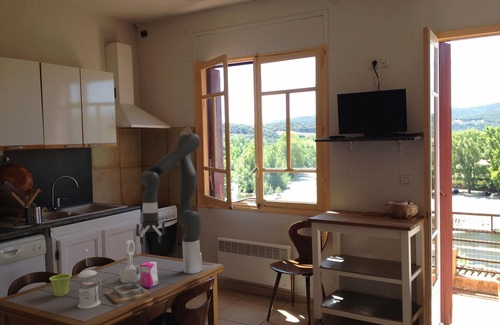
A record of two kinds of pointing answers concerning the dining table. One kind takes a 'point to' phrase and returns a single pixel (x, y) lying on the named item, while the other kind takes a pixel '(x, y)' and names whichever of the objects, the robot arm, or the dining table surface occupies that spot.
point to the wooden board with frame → (127, 293)
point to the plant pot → (60, 284)
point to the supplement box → (149, 274)
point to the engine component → (130, 265)
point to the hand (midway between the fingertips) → (150, 243)
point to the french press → (85, 298)
